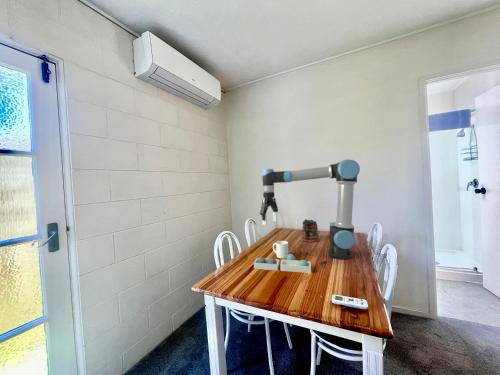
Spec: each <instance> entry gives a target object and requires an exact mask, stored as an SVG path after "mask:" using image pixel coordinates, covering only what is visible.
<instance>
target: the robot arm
mask: <svg viewBox="0 0 500 375" xmlns="http://www.w3.org/2000/svg"><path fill="white" fill-rule="evenodd" d="M360 172H361V168H360V164H359V163H358V162H357V161H356V160H353V159H348V158H347V159H344V160H342V161H340V162H339V161H338V162H337V163H333V164H329V165H328V166H322V167H313V168H306V169H304V168H303V169H298V170H279V171H274V169H273V168H264V169H262V190H263V193H262V196H263V199H262V201H261V206H260V212H259V215H260V216H261V220H262V226H268V225H267V223H268V222H267V215H266V214H267V212H268V209H269V207H270V208H271V209H272V222H277V220H278V218H277V213H278V212H279V209H278V204H277V201H276V197H275V184H279V183H292V182H299V181H306V180H308V181H309V180H316V179H317V180H318V179H325V178H330V179H336V180H335V181H336V183H337V184H338V186H337V188H338V189H337V207H336V222H335V221H334V222H333V221H332V222H329V226H328V227H329V246H328V249H327V255H328V257H330V258H332V259H335V260H349V259H352V258H353V257H352V256H353V254H352V251H351V248H353V247H354V246H355V244H356V236H355V226H354V225H353V223H352V222H353V210H354V209H353V208H354V207H353V204H354V190H355V188H354V187H355V184H357V182H358V175H359V174H360Z"/></svg>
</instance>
